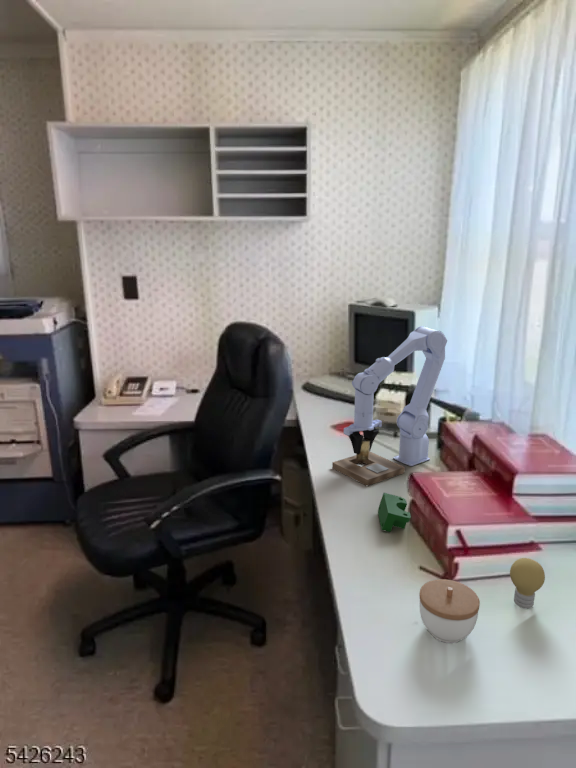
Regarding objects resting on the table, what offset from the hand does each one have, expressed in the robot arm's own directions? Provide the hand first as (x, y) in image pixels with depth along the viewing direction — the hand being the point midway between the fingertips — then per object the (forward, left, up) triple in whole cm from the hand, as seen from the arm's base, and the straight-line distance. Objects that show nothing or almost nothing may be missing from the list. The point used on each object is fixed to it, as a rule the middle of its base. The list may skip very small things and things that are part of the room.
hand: (362, 451), depth 175 cm
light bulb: (+20, +69, -6) cm, 72 cm away
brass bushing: (0, 0, -2) cm, 2 cm away
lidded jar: (+39, +65, -6) cm, 76 cm away
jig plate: (0, +3, -5) cm, 6 cm away
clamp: (+17, +31, -6) cm, 36 cm away
